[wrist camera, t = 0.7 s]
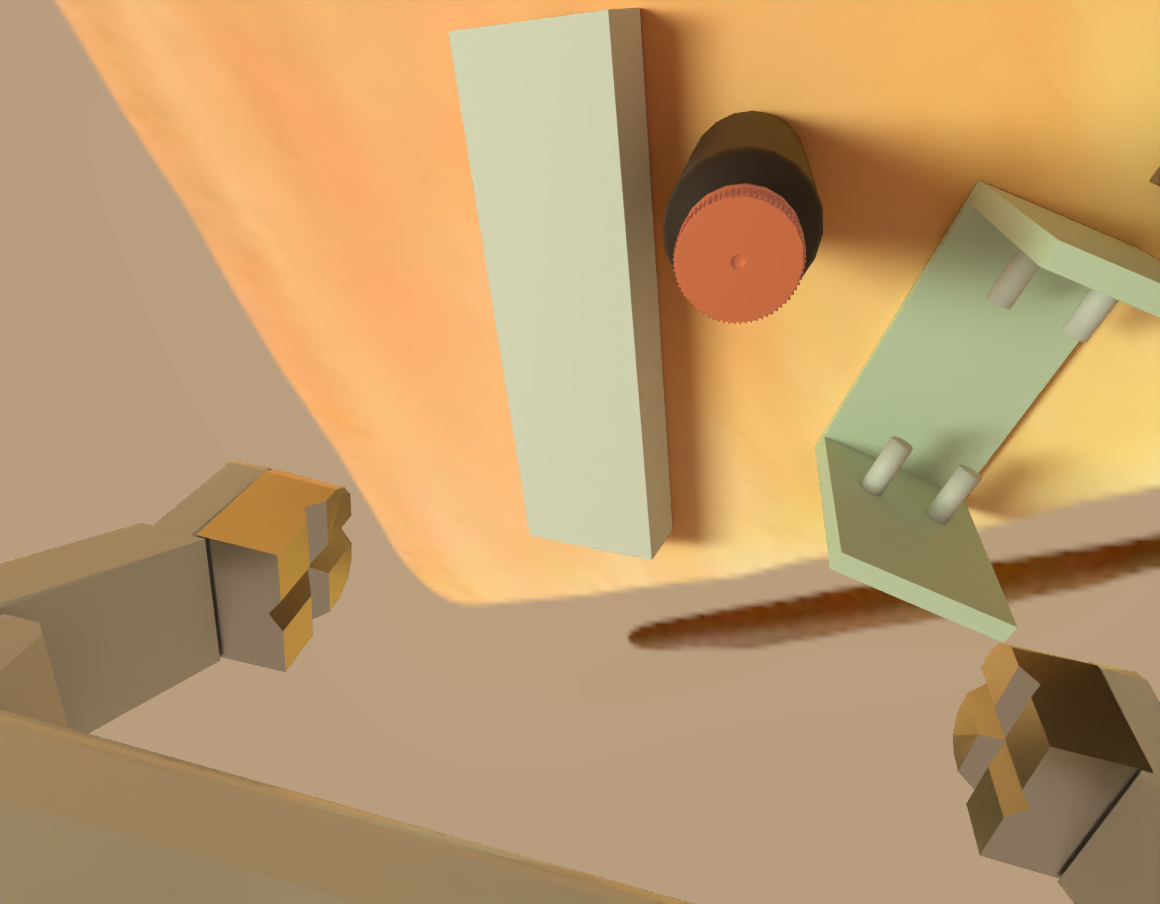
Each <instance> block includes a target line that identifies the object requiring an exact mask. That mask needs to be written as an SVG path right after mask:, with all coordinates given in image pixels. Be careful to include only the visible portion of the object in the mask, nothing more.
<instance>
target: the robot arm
mask: <svg viewBox="0 0 1160 904" xmlns="http://www.w3.org/2000/svg"><path fill="white" fill-rule="evenodd" d="M350 516H351V503H350V494H349V493H348V491H347V490H346V489H345V488H344V487H341V486H337V485H333V484H329V483H326V482H321V481H318V480H314V479H310V478H306V477H303V476H299V475H295V474H291V473H287V472H283V471H280V470H275V469H274V470H272V469H270V468H267V467H263V466H259V465H255V464H250V463H246V462H242V461H235V462H229V463H228V464H226V465H225V466H224V467H223V468H222V469H220V470H219V471H218V472H217V473H216V474H214V475H213V476H212V477H211V478H210V479H208V480H207V481H206V482H205V483H204V484H203V485H201V486H200V487H199V488H198V489H196V490H195V491H194V492H193V493H192V494H190V495H189V496H188V497H187V498H186V499H184V500H183V501H182V502H181V503H180V504H178V505H177V506H176V507H175V508H174V509H172V510H171V511H170V512H169V513H168V514H166V515H165V516H164V517H163V518H162V519H160V520H159V521H158V522H157V523H156V524H154V525H153V526H151V525H148V524H143V523H140V524H136V525H133V526H130V527H126V528H123V529H119V530H116V531H112V532H109V533H105V534H102V535H98V536H95V537H91V538H88V539H85V540H81V541H78V542H74V543H71V544H67V545H64V546H60V547H57V548H53V549H50V550H47V551H43V552H40V553H36V554H33V555H29V556H26V557H22V558H19V559H15V560H12V561H9V562H5V563H2V564H0V904H693V903H690V902H686V901H682V900H679V899H675V898H671V897H668V896H665V895H661V894H657V893H654V892H650V891H647V890H643V889H639V888H636V887H632V886H629V885H625V884H622V883H618V882H615V881H611V880H607V879H604V878H601V877H596V876H593V875H590V874H586V873H583V872H579V871H576V870H572V869H568V868H565V867H561V866H558V865H554V864H551V863H547V862H543V861H540V860H536V859H533V858H529V857H525V856H522V855H518V854H515V853H511V852H508V851H504V850H501V849H497V848H493V847H490V846H486V845H483V844H479V843H476V842H472V841H469V840H465V839H462V838H457V837H454V836H451V835H447V834H444V833H440V832H436V831H433V830H429V829H426V828H422V827H419V826H415V825H412V824H407V823H404V822H401V821H397V820H394V819H390V818H386V817H383V816H379V815H376V814H372V813H369V812H365V811H362V810H358V809H355V808H351V807H347V806H344V805H340V804H337V803H333V802H330V801H326V800H323V799H319V798H315V797H312V796H308V795H304V794H301V793H297V792H294V791H290V790H287V789H283V788H280V787H276V786H273V785H269V784H266V783H262V782H258V781H254V780H251V779H248V778H244V777H241V776H237V775H233V774H230V773H226V772H222V771H219V770H216V769H212V768H208V767H205V766H201V765H198V764H194V763H191V762H187V761H184V760H180V759H176V758H173V757H169V756H166V755H162V754H158V753H155V752H151V751H148V750H144V749H141V748H137V747H133V746H130V745H127V744H123V743H119V742H116V741H112V740H109V739H105V738H102V737H98V736H94V735H91V734H88V733H90V732H92V731H93V730H95V729H97V728H99V727H101V726H103V725H104V724H106V723H108V722H110V721H111V720H113V719H115V718H117V717H119V716H121V715H122V714H124V713H126V712H128V711H130V710H131V709H133V708H135V707H137V706H139V705H141V704H142V703H144V702H146V701H147V700H150V699H151V698H153V697H155V696H157V695H159V694H160V693H162V692H164V691H166V690H167V689H169V688H171V687H173V686H175V685H177V684H179V683H180V682H182V681H184V680H186V679H188V678H189V677H191V676H193V675H195V674H197V673H198V672H200V671H202V670H204V669H206V668H207V667H209V666H211V665H213V664H215V663H216V662H218V661H220V657H224V658H228V659H233V660H236V661H241V662H245V663H250V664H254V665H258V666H262V667H267V668H271V669H275V670H279V671H283V672H286V671H287V669H288V668H289V667H290V665H291V664H292V663H293V661H294V660H295V659H296V657H297V656H298V654H299V653H300V652H301V650H302V649H303V648H304V646H305V645H306V643H307V642H308V641H309V639H310V638H311V637H312V635H313V631H312V619H314V618H316V617H319V616H321V615H323V614H325V613H328V612H330V610H331V609H332V608H333V606H334V605H335V603H336V602H337V600H338V599H339V597H340V596H341V593H342V591H343V588H344V586H345V583H346V581H347V578H348V575H349V570H350V563H351V542H350V540H349V539H348V537H347V536H346V534H345V533H344V532H343V530H342V529H341V527H342V526H343V525H344V524H345V523H346V521H347V520H348V519H349V518H350ZM982 670H983V673H984V676H985V679H986V682H987V684H985V685H983V686H981V687H978V688H976V689H975V690H972V691H970V692H968V693H967V694H966V696H965V698H964V701H963V702H962V704H961V706H960V709H959V711H958V713H957V717H956V722H955V728H954V733H953V746H954V756H955V760H956V764H957V769H958V772H959V773H960V774H961V775H962V776H963V777H964V778H965V779H966V780H967V782H969V784H970V785H971V786H972V787H973V788H974V789H975V790H974V792H973V793H972V795H971V797H970V798H969V800H968V802H967V808H968V812H969V816H970V820H971V824H972V827H973V831H974V835H975V839H976V843H977V847H978V850H979V854H980V856H984V857H987V858H990V859H994V860H997V861H1001V862H1004V863H1008V864H1011V865H1014V866H1018V867H1021V868H1025V869H1028V870H1032V871H1035V872H1039V873H1042V874H1045V875H1049V876H1052V877H1056V878H1059V880H1058V883H1059V884H1060V886H1061V887H1062V888H1063V890H1064V891H1065V892H1066V893H1067V895H1068V896H1069V897H1070V899H1071V900H1072V901H1073V903H1074V904H1160V702H1159V700H1158V698H1157V697H1156V695H1155V693H1154V692H1153V690H1152V688H1151V686H1150V685H1149V683H1148V681H1147V680H1146V679H1145V678H1143V677H1142V676H1141V675H1140V674H1138V673H1137V672H1135V671H1130V670H1125V669H1121V668H1116V667H1111V666H1106V665H1101V664H1097V663H1091V662H1089V663H1085V662H1081V661H1076V660H1072V659H1068V658H1063V657H1059V656H1055V655H1050V654H1046V653H1042V652H1037V651H1033V650H1029V649H1024V648H1020V647H1016V646H1012V645H1007V644H1003V643H999V644H998V645H997V646H996V647H994V648H993V649H992V650H991V651H990V653H989V654H988V656H987V658H986V660H985V661H984V663H983V665H982Z"/></svg>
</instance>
